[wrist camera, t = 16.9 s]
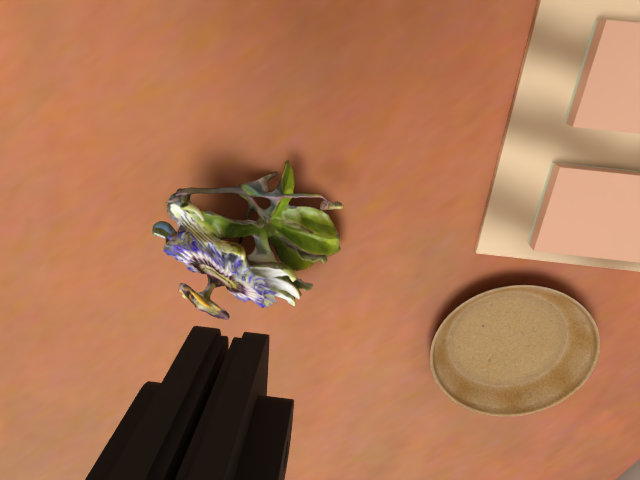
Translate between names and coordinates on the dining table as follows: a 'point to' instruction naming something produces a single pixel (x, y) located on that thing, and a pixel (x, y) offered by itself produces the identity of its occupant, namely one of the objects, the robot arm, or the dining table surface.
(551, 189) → the tile
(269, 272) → the passion flower
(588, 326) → the plant saucer
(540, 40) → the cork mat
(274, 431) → the robot arm
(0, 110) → the dining table surface
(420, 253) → the dining table surface
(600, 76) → the tile
